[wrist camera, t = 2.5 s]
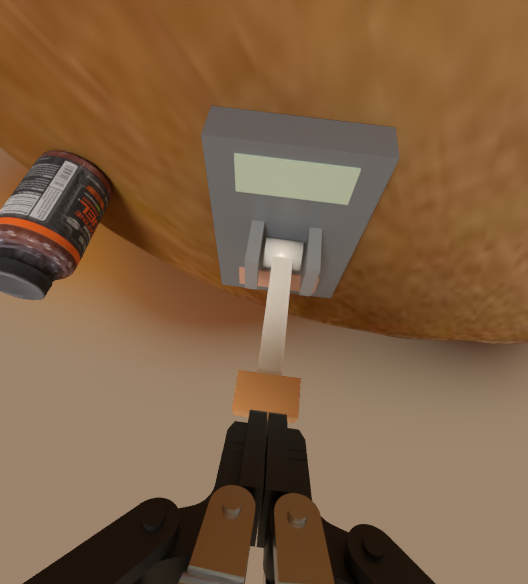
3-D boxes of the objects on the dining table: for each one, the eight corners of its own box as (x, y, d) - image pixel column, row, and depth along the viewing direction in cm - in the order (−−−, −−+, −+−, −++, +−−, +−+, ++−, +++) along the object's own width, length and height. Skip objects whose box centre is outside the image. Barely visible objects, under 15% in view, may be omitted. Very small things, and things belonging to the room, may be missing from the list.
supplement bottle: (124, 205, 30) (75, 312, 25) (63, 198, 30) (1, 302, 25) (97, 150, 25) (27, 270, 19) (23, 142, 25) (-66, 258, 20)
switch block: (395, 127, 20) (405, 207, 17) (331, 275, 36) (329, 332, 33) (211, 105, 21) (184, 180, 17) (227, 262, 36) (215, 317, 33)
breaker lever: (310, 236, 26) (298, 418, 19) (305, 254, 28) (293, 423, 21) (261, 230, 26) (232, 409, 19) (260, 248, 28) (233, 415, 21)
